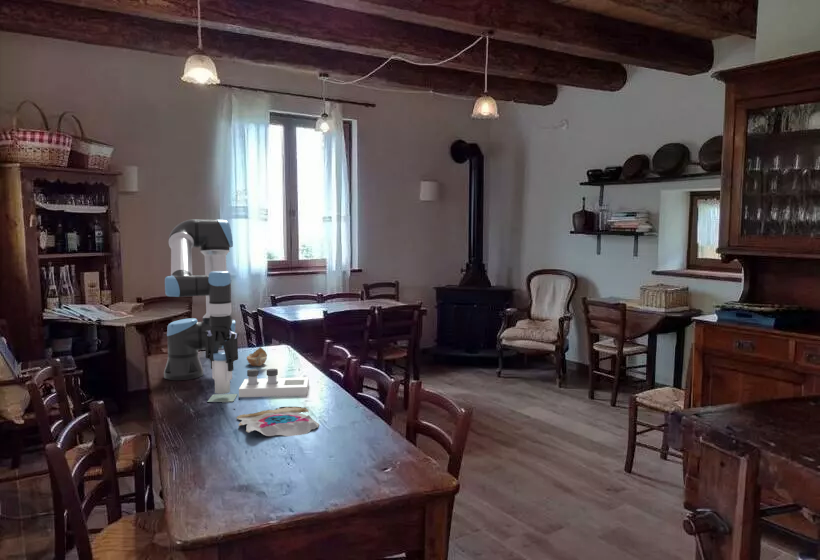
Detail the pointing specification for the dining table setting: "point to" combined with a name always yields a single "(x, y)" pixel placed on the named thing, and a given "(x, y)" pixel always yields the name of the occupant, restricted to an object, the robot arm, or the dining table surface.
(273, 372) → the plunger
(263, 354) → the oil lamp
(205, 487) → the dining table surface
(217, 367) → the cylinder
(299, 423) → the rumpled printed cloth
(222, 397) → the mat
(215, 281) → the robot arm
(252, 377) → the plunger
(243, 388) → the white tube rack
